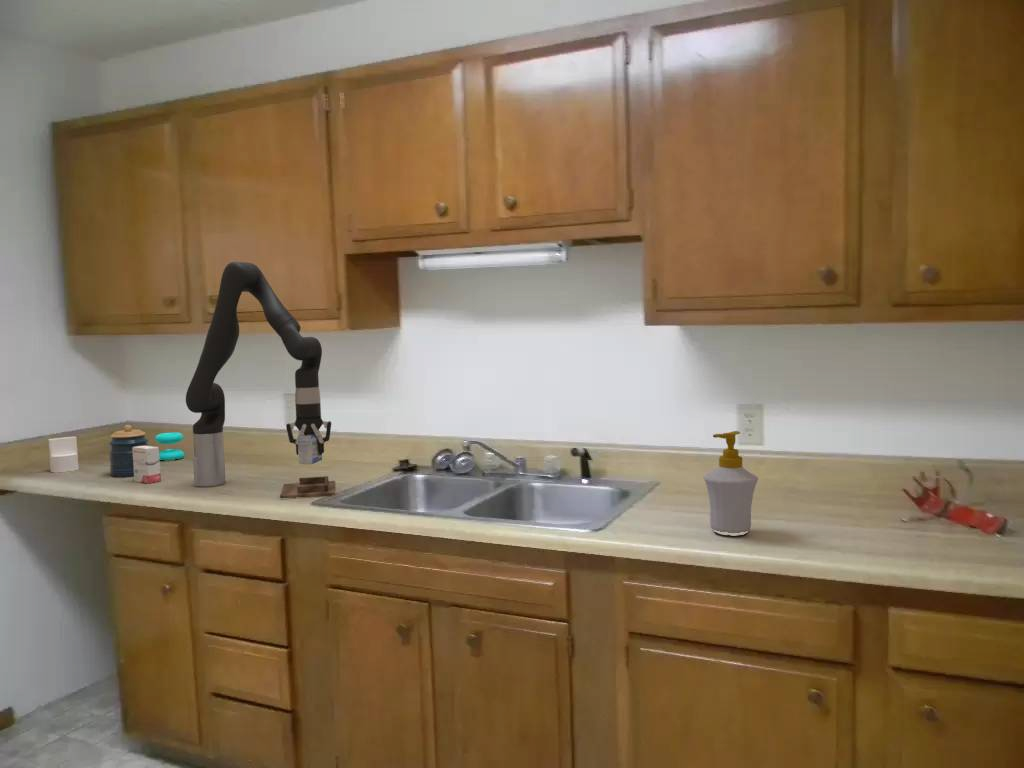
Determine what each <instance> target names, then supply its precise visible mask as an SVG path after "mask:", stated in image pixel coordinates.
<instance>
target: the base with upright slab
mask: <svg viewBox="0 0 1024 768" xmlns="http://www.w3.org/2000/svg"><path fill="white" fill-rule="evenodd" d="M77 442H78V440H77V436H66V437H65V436H64V437H56V438H48V451H49V463H50V466H49V467H50V473H51V472H66V473H68V472H67V471H73V472H75V471H74V470H77V471H79V470H78V469H79V457H78V455H79V453H78V443H77Z"/></svg>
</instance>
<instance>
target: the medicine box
mask: <svg viewBox="0 0 1024 768" xmlns="http://www.w3.org/2000/svg"><path fill="white" fill-rule="evenodd" d="M297 437H298V436H297ZM319 443H320V442H319V440H318V438H317V436H316V434H307V435H304V434H303V436H300V437H298V455H297V456H298V464H300V465H314V464H316V463H318V462H320V461H322V460H323V454H322V455H320V452H319Z"/></svg>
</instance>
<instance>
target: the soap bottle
mask: <svg viewBox="0 0 1024 768" xmlns="http://www.w3.org/2000/svg"><path fill="white" fill-rule="evenodd" d="M739 434H741V432H740V431H739V430H734V431H730V432H723V433H715V434H713V435H712V437H713V438H719V439H724V440H725V443H726V445H727V448H725V449H723V451H722V455H720V456H719V457H718V467H716V468H714V469H713V470H712V471H708V472H706V473H705V474H704V475H703V479H704V482H705V485H706V489H707V494H708V500H709V505H710V506H709V515H710V517H709V525H710V528H712V529H713V530H716V531H720V532H728V533H740V532H746V531H749V532H750V530H751V527H752V503H753V499H754V498H753V497H754V494H755V493H754V492H755V490H756V486H757V483H758V481H759V477H758V476H757V475H756V474H754V473H752V472H750V471H748V470H747V469H746V468H744V467H743V457H742V456H740V455H739V450H738V449H737V448H735V444H736V435H739ZM712 529H711V530H712ZM713 530H712V531H713Z"/></svg>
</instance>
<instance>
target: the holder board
mask: <svg viewBox="0 0 1024 768" xmlns="http://www.w3.org/2000/svg"><path fill="white" fill-rule="evenodd" d="M335 493H336V481H335V480H329V476H328V475H326V476H311V477H310V476H308V477H299V478H298V482H294V483H292V482H291V483H283V485H282V488H281V492H280V494H279V499H280V498H292V499H297V498H296V497H307V498H319V497H320V498H322V497H333V496H332V495H335V496H336V494H335Z"/></svg>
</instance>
